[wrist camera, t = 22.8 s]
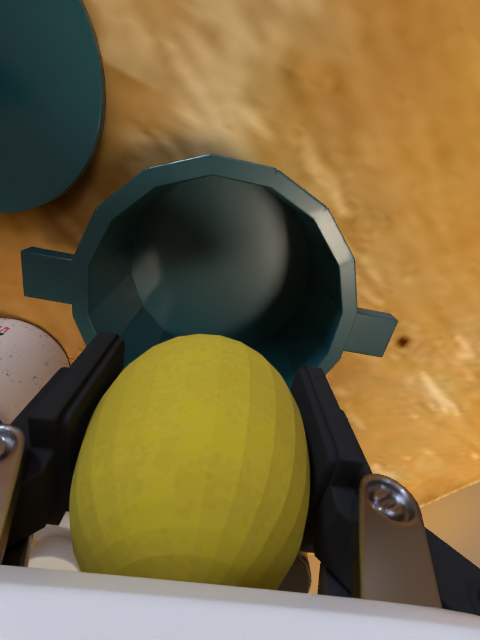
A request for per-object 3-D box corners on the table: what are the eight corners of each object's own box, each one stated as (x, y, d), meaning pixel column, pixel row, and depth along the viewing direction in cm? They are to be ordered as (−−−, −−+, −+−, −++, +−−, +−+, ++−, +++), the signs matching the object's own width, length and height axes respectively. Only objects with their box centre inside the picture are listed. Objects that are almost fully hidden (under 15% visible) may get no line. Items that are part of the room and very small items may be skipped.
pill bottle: (97, 431, 30) (40, 540, 21) (141, 462, 31) (106, 574, 23) (62, 461, 31) (-5, 574, 22) (106, 488, 33) (60, 603, 24)
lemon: (116, 397, 13) (-44, 706, 5) (162, 269, 10) (2, 488, 3) (246, 439, 14) (262, 746, 6) (310, 330, 12) (444, 600, 4)
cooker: (83, 130, 20) (-3, 105, 13) (383, 197, 22) (458, 209, 14) (83, 333, 26) (23, 397, 18) (320, 371, 27) (351, 443, 20)
